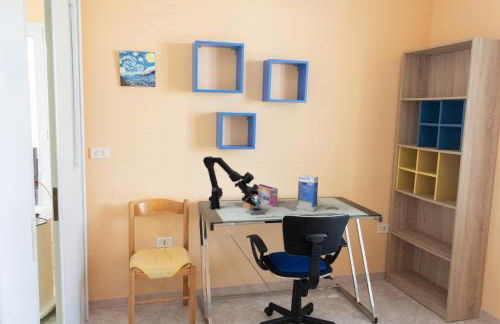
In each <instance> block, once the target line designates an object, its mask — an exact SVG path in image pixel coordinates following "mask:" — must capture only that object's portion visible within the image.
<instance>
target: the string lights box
mask: <svg viewBox="0 0 500 324" xmlns="http://www.w3.org/2000/svg"><path fill="white" fill-rule="evenodd" d="M318 187H319V176H315V175H309V174H307V175H306V174H302V175H298V189H297V190H298V191H297V210H301V211H309V212H315V211H317V210H318V191H319V190H318V189H319V188H318Z"/></svg>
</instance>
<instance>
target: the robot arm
mask: <svg viewBox="0 0 500 324" xmlns="http://www.w3.org/2000/svg"><path fill="white" fill-rule="evenodd" d="M202 162H203V164H204V167H206V169H207V173H208V176H209V181H210V185H211V192H210V193H211V195H210V196H209V197H208V202H209V209H210V210H221V202H220V200H221V198H222V197H223V193H224V192H223V189H222V187H220V186H219V184H218V183H219V182H218V180H217V176H216V171H215V164H217V165H218V166H219V167H220V168H221V169H222V170H223V171H224V172H225V173H226V174H227V175H228V177H229V179H230V180H231V182H233V183H234V188H237V187H238V188H239V190H240V191H241V193H242V194H243V196H242V197H241V201H242V202H243V203H244V202H246V203H249V204H251V205H253V206H256V205H255V203H254V201H253V200H254V196H256V195H258V194H259V191H258V190H257V189H258V185H259V184H257V183H254V184H253V185H252V186H250V185H249V184H250V183H251V182H252V181H254V180H255V177H254V175H253V174H252V173H250V172H249V171H247V172H246V173H245V174H244V175H242V174H240V173H239V172H237V171H235V170H234V169H233V168H232V167H230V165H228V164H227V162H226V161H224V159H223V157H221V156H219V157H214V156H212V155H209V156H205V157H204V158H203V160H202ZM260 204H261V202H260Z"/></svg>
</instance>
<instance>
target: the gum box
mask: <svg viewBox="0 0 500 324" xmlns="http://www.w3.org/2000/svg"><path fill="white" fill-rule="evenodd" d="M257 185H258V189H257V190H258V191H259V194H258V196H260V202H261V203H260V205H264V206H272V207H276V206H278V196H279V195H278V192H279V191H278V190H279V189H278V188H277V187H273V186H270V185H269V186H268V185H266V184H262V183H259V184H257ZM252 200H253V199H252ZM253 201H254V200H253Z"/></svg>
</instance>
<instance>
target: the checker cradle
mask: <svg viewBox="0 0 500 324" xmlns="http://www.w3.org/2000/svg"><path fill="white" fill-rule="evenodd" d="M246 213H247V214H249V215H250V216H251V217H252V216H264V215H267V213H265V210H263V209H262V208H259V211H253V208H250V209H248V210H247V211H246Z"/></svg>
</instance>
